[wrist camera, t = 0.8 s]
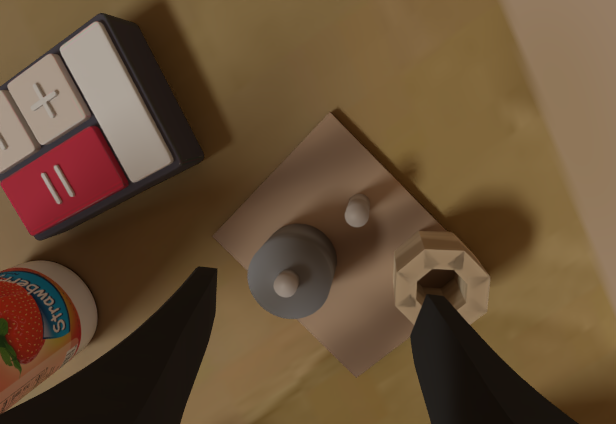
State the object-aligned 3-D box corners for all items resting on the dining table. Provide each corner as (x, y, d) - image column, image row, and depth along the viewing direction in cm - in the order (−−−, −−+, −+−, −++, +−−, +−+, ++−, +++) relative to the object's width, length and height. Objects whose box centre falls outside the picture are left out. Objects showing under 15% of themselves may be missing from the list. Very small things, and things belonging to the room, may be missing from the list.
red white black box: (-52, 115, 29) (93, 6, 24) (4, 114, 33) (137, 20, 29) (27, 246, 31) (178, 166, 26) (71, 229, 35) (207, 158, 30)
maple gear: (490, 271, 28) (508, 296, 24) (429, 317, 29) (437, 348, 25) (436, 215, 27) (445, 231, 23) (377, 265, 29) (377, 288, 25)
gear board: (487, 272, 28) (513, 309, 23) (356, 373, 32) (352, 424, 26) (330, 112, 27) (319, 111, 22) (214, 233, 31) (181, 258, 26)
